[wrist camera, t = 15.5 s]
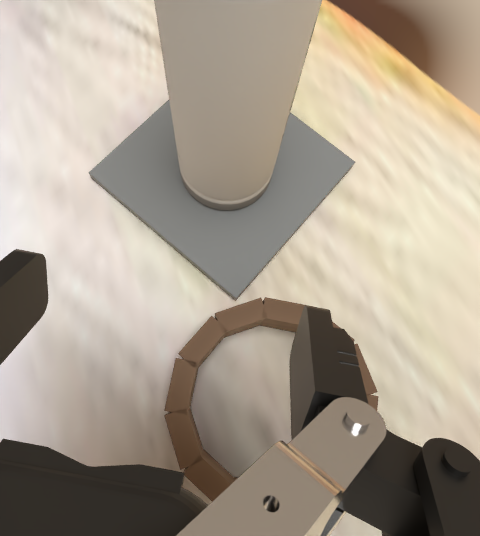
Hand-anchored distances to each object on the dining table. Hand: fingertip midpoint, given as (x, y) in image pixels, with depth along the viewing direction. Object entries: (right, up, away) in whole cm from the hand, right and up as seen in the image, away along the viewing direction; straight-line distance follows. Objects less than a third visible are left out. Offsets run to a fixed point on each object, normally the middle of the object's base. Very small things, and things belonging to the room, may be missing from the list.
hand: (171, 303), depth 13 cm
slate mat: (+1, +8, +17) cm, 18 cm away
